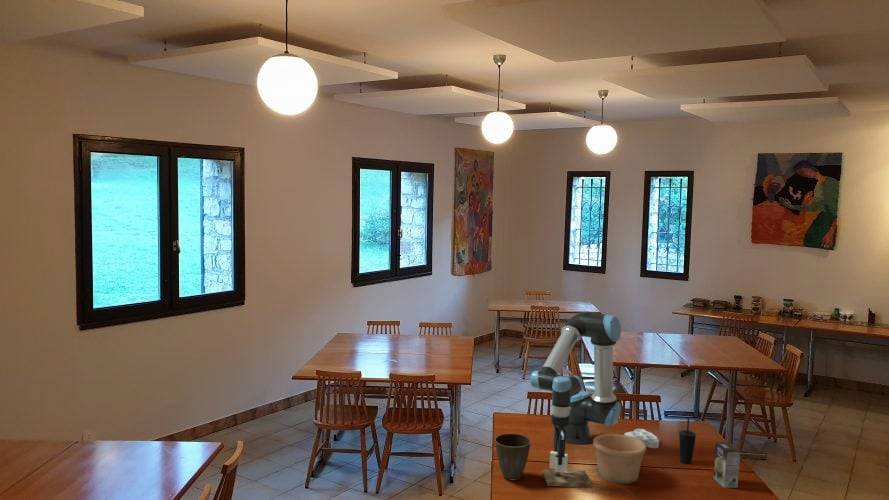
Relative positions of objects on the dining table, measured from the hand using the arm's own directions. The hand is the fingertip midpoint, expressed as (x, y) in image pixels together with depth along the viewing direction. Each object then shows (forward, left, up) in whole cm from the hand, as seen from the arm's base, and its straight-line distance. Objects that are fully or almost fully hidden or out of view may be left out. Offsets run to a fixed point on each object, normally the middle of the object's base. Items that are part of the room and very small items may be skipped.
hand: (558, 469), depth 271 cm
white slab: (+2, +1, -2) cm, 3 cm away
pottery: (+15, +23, -5) cm, 28 cm away
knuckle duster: (+3, +68, -5) cm, 69 cm away
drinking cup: (+29, +59, -5) cm, 66 cm away
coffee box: (+50, +50, -5) cm, 71 cm away
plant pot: (-15, -12, -5) cm, 20 cm away
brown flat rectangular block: (+3, +2, -5) cm, 6 cm away
